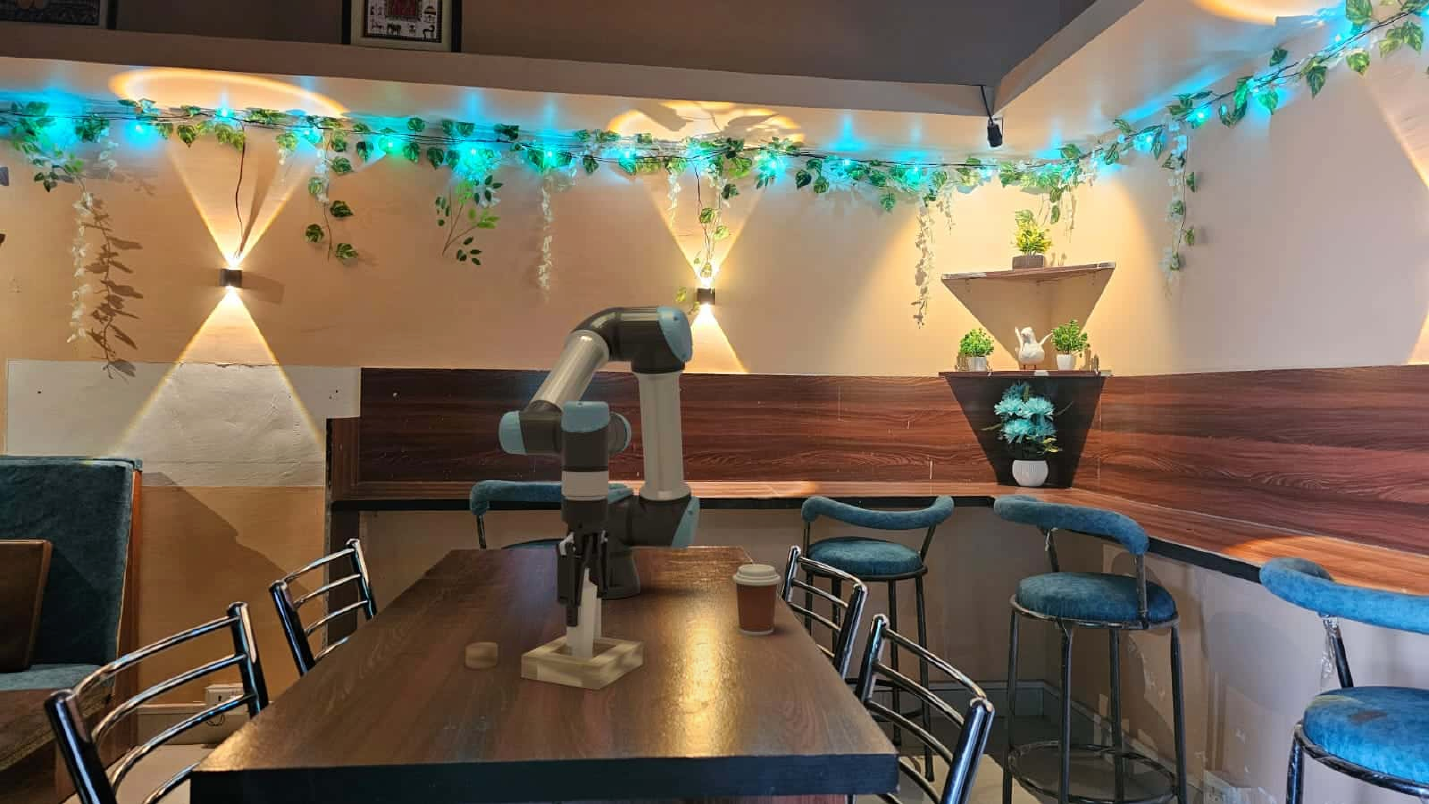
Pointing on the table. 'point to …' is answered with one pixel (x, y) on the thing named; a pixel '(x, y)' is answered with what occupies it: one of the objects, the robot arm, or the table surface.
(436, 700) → the table surface
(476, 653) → the brown short cylinder
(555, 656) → the square wooden frame
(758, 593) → the coffee cup
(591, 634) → the perfume bottle
